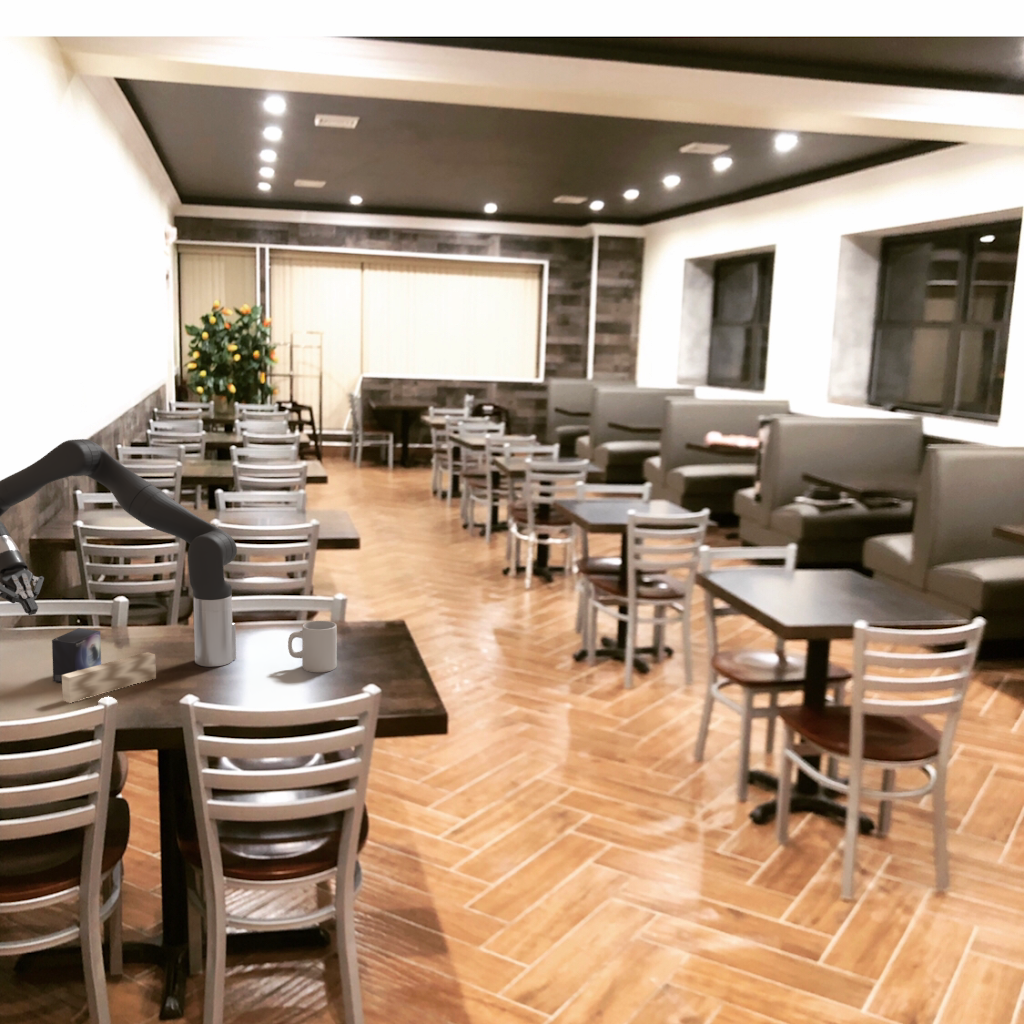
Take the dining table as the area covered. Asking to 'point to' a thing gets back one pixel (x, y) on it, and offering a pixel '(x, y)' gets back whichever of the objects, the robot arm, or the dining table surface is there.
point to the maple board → (108, 676)
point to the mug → (316, 646)
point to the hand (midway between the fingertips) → (33, 612)
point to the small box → (75, 652)
